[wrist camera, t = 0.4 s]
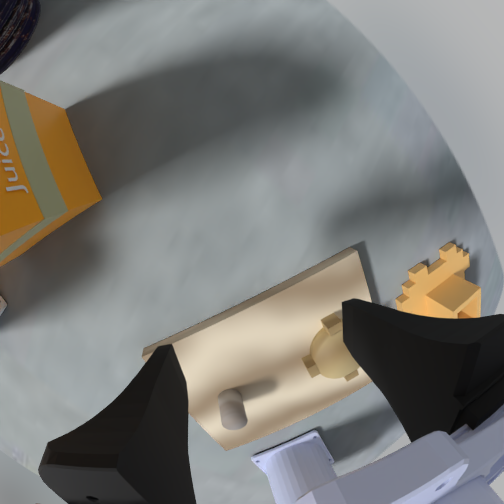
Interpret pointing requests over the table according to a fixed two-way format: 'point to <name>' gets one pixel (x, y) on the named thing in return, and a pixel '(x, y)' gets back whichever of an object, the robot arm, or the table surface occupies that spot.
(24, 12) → the storage jar
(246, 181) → the table surface
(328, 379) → the carrier plate
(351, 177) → the table surface
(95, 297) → the table surface
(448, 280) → the gear
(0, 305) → the skincare box
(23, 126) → the orange juice
